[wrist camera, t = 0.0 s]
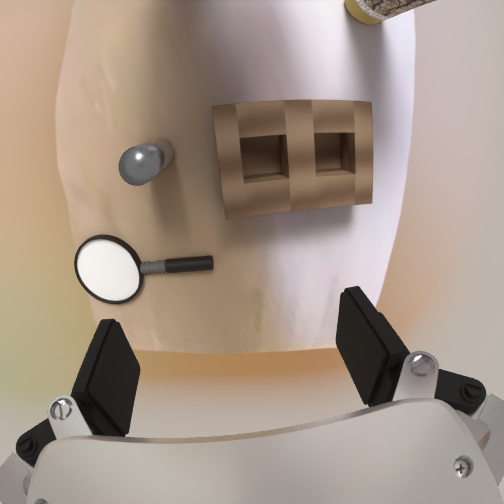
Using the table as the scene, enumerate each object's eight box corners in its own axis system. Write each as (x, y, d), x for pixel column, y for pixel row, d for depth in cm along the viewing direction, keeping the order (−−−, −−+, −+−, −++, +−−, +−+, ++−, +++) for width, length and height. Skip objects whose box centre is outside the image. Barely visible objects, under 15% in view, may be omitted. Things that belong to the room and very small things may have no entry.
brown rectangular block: (213, 108, 35) (212, 106, 29) (351, 103, 36) (371, 102, 31) (224, 205, 41) (225, 219, 36) (353, 192, 42) (371, 203, 37)
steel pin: (144, 141, 35) (115, 151, 25) (172, 136, 36) (152, 142, 25) (148, 169, 37) (122, 188, 27) (175, 164, 38) (159, 181, 27)
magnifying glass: (217, 292, 48) (217, 299, 46) (90, 299, 46) (86, 305, 44) (208, 221, 42) (208, 227, 40) (70, 237, 41) (64, 242, 39)
